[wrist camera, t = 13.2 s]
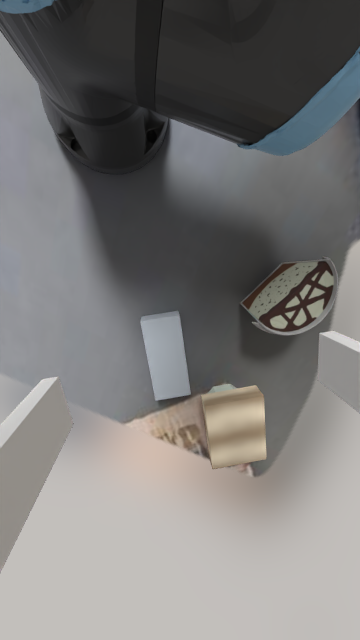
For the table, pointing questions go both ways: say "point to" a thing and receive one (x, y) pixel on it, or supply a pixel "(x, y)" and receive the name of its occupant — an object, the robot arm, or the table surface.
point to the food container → (294, 296)
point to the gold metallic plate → (235, 426)
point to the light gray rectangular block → (166, 354)
